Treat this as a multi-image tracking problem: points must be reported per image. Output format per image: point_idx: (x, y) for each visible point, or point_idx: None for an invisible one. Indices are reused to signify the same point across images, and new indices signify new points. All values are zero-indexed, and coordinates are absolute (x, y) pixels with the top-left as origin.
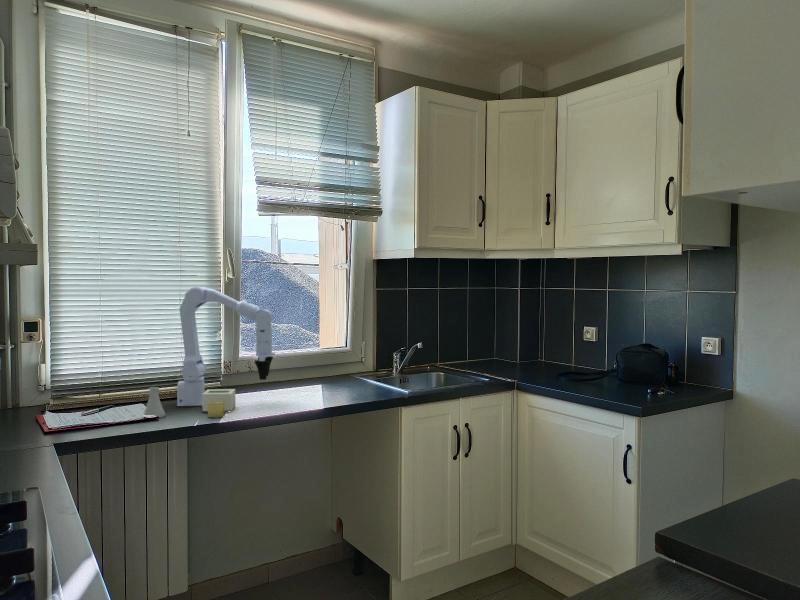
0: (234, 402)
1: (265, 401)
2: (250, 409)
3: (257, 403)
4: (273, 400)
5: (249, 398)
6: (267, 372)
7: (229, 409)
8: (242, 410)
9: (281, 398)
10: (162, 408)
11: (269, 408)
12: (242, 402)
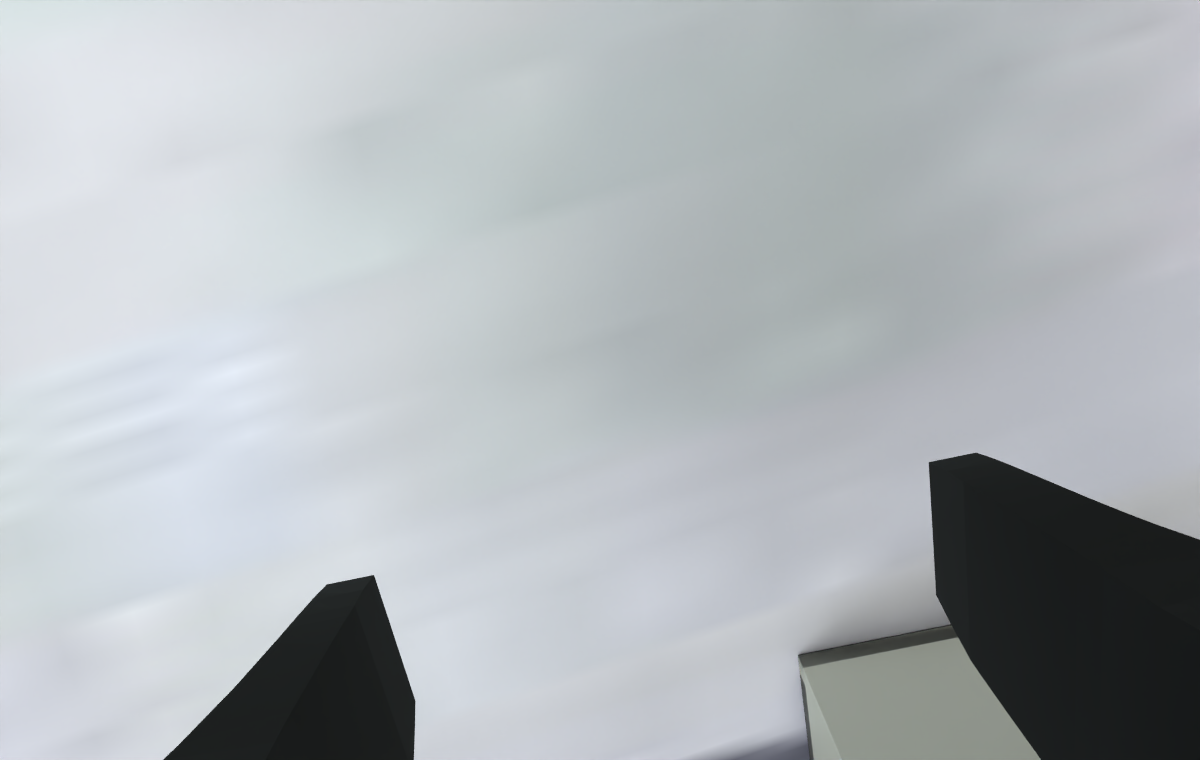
0: (903, 690)
1: (411, 371)
2: (981, 412)
3: (574, 444)
4: (308, 262)
5: (239, 665)
6: (361, 652)
7: None
8: None
9: (103, 164)
10: None
11: (933, 143)
12: (527, 662)
